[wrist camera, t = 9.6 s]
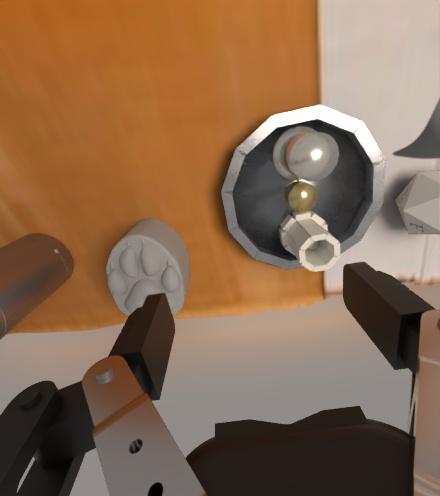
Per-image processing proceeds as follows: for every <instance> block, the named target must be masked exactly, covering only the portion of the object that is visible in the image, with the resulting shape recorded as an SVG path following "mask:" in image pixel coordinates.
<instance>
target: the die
mask: <svg viewBox="0 0 440 496" xmlns="http://www.w3.org/2000/svg"><path fill="white" fill-rule="evenodd" d="M395 202H396V204H397V207H398V209H399V211H400V214H401V216H402V219H403V221H404V224H405V226H406V229H407V231H408V233H409V234H440V170H438V171H425V172H418V173H417V174H416V175H415V177H414V178H413V179H412V180H411V181H410V183H409V184H408V185H407V186H406V187H405V189H404V190H403V191H402V192H401V193H400V195H399V196H398V197H397V198H396V199H395Z"/></svg>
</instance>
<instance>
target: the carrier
mask: <svg viewBox="0 0 440 496" xmlns="http://www.w3.org/2000/svg"><path fill="white" fill-rule="evenodd" d="M385 161H386V160H385V158H384V156H383V154H382V153H381V151H380V149H379V148H378V146H377V144H376V143H375V141H374V139H373V138H372V136H371V134H370V133H369V131H368V129H367V128H366V126H365V124H364V122H362V121H360V120H357V119H355V118H352V117H350V116H347V115H345V114H342V113H340V112H337V111H335V110H332V109H330V108H327V107H325V106H322V105H317V106H312V107H308V108H303V109H299V110H294V111H290V112H285V113H281V114H276V115H272V116H270V117H269V118H267V119H266V120H265V121H264V122H263V123H262V124H261V125H260V126H259V127H258V128H257V129H255V130H254V131H253V132H252V133H251V134H250V135H249V136H248V137H247V138H246V139H245V140H244V141H243V142H241V143H240V144H239V145H238V146H237V147H236V149H235V150H234V153H233V156H232V159H231V162H230V164H229V167H228V170H227V173H226V177H225V180H224V183H223V186H222V189H221V194H222V199H223V204H224V209H225V215H226V220H227V225H228V230H229V232H230V233H231V234H232V235H233V237H234V238H235V239H236V240H237V241H238V242H239V243H240V244H241V245H242V246H243V248H244V249H245V250H246V251H247V252H248V253H249V254H250V255H251V256H252V257H253V258H254V259H256V260H259V261H263V262H266V263H269V264H272V265H275V266H278V267H282V268H285V269H289V270H290V269H296V268H302V267H304V266H302V265H301V264H300V262H299V260H298V259H297V257H296V256H295V255H293V254H292V253H290V252H289V251H287V250H286V249H285V248H284V246H283V245H282V243H281V241H280V234H279V229H281V228H282V227H281V226H280V224H281V223H282V222H283V221H284V219H285V218H286V217H287V216H288V214H289V215H291V216H292V217H293V212H294V211H297V212H307V211H310V210H311V211H313V212H314V213H315V214H317V215H318V216H320V217H321V218H322V219H323V220H325V223H326V224H327V228H328V232H329V233H330V234H331V235H332V236H334V237H335V238H336V239H337V240H338V241H339V243H340V254H341V253H343V252H344V251H346V250H347V249H349V248H350V247H352V246H353V245H355V244H356V243H358V242H359V241H361V240H360V239H362V238H363V236H364V234H365V233H366V231H367V229H368V228H369V226H370V224H371V223H372V221H373V219H374V218H375V216H376V214H377V213H378V211H379V209H380V208H381V206H382V204H383V200H384V180H385ZM318 245H319V241H313V242H312V243H311V244H310V245H309V247H308V248H307V249H309V250H314V249H316V248H317V247H318Z"/></svg>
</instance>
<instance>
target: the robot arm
mask: <svg viewBox="0 0 440 496" xmlns="http://www.w3.org/2000/svg"><path fill="white" fill-rule="evenodd" d="M72 272H73V260H72V257H71V255H70V253H69V251H68V250H67V249H66V248H65V246H64V245H63V244H61V243H60V242H59V241H57V240H56V239H54V238H52V237H50V236H47V235H43V234H31V235H27V236H25V237H23V238H21V239H19V240H17V241H15V242H13V243H10V244H8V245H6V246H4V247H2V248H0V339H1V338H2V337H4V336H5V335H6V334H7V333H8V332H9V331H10V330H12V329H13V328H14V327H15V326H16V325H17V324H18V323H19V322H21V321H22V320H23V319H24V318H25V317H26V316H27V315H28V314H29V313H31V312H32V311H33V310H34V309H35V308H36V307H37V306H38V305H39V304H41V303H42V302H43V301H44V300H45V299H46V298H47V297H48V296H50V295H51V294H52V293H53V292H54V291H55V290H56V289H57V288H59V287H60V286H61V285H62V284H63V283H64V282H65V281H66V280H68V278H69V277H70V276H71V274H72ZM343 298H344V303H345V305H346V307H347V309H348V310H349V311H350V313H351V314H352V316H353V317H354V318H355V319H356V321H357V322H358V323H359V325H361V327H362V328H363V330H364V331H365V332H366V333H367V335H368V336H369V337H370V339H371V340H372V341H373V342H374V343H375V345H376V346H377V348H378V349H379V350H380V351H381V353H382V354H383V355H384V357H385V358H386V359H387V360H388V362H389V363H390V364H391V366H392V367H393V368H394V369H395V370H398V369H405V368H409V369H410V370H411V371H412V380H411V391H410V403H409V415H408V426H407V433H406V432H405V431H403V430H401V429H398V428H396V427H394V426H391V425H389V424H385V423H382V422H379V421H375V420H371V419H366V417H365V415H364V413H363V411H362V410H361V408H360V406H354V407H346V408H339V409H331V410H323V411H320V412H318V413H316V414H313V415H311V416H309V417H306V418H304V419H302V420H299V421H297V422H295V423H292V424H278V423H271V422H264V421H257V420H250V419H249V420H241V421H233V422H226V423H217V424H215V437H213V438H211V439H209V440H207V441H205V442H204V443H202V444H201V445H199V446H198V447H197V448H195V449H194V450H193V451H192V452H191V453H190V454H189V455H188V456H187V457H186V458H185V457H184V455H183V454H182V452H181V450H180V449H179V447H178V445H177V444H176V442H175V440H174V439H173V437H172V435H171V433H170V432H169V430H168V428H167V426H166V425H165V423H164V422H163V420H162V418H161V416H160V415H159V413H158V411H157V410H156V408H155V406H154V404H153V403H152V400H159V399H160V396H161V391H162V387H163V382H164V378H165V373H166V369H167V365H168V360H169V356H170V351H171V347H172V343H173V338H174V334H175V324H174V319H173V316H172V312H171V309H170V306H169V302H168V299H167V296H166V294H165V293H158V294H151V295H148V296H147V297H146V299H145V301H144V303H143V306H142V307H138V308H136V309H135V310H134V311H133V312H132V313H131V314H130V315H129V317H128V319H127V321H126V323H125V326H124V327H123V329H122V330H121V333H120V334H119V336H118V338H117V340H116V342H115V344H114V346H113V348H112V350H111V352H110V354H109V356H108V357H106V358H104V359H102V360H100V361H98V362H96V363H95V364H94V365H93V366H92V367H90V369H88V371H87V372H86V373H85V375H84V377H83V379H82V381H80V382H77V383H75V384H72V385H70V386H67V387H65V388H62V389H60V390H58V389H57V387H56V385H55V384H54V383H53V382H52V381H42V382H39V383H36V384H34V385H32V386H30V387H28V388H26V389H25V390H23V391H22V392H21V393H19V394H18V395H17V396H16V397H15V398H14V399H13V400H12V401H11V402H10V403H9V404H8V406H7V407H6V408H5V410H4V411H3V413H2V414H1V415H0V496H69V495H70V492H71V490H72V487H73V484H74V482H75V479H76V477H77V474H78V471H79V469H80V466H81V463H82V461H83V458H84V455H85V453H86V452H88V451H90V450H92V449H94V448H97V452H98V456H99V459H100V463H101V466H102V470H103V473H104V477H105V481H106V484H107V488H108V491H109V495H110V496H440V310H436V309H435V308H433V307H432V306H431V305H430V304H428V303H427V302H426V301H424V300H423V299H422V298H420V297H419V296H418V295H416V294H415V293H414V292H413V291H410V290H409V288H407V287H406V286H405V285H402V284H401V282H399V281H398V280H397V279H395V278H394V277H393V276H391V275H388V274H386V273H383V272H381V271H375V270H374V269H373V268H372V267H370V266H369V265H368V264H367V263H365V262H359V263H352V264H346V265H345V266H344V269H343ZM32 457H34V458H35V461H34V463H33V465H32V466H31V468H30V470H29V472H28V474H27V476H26V478H25V480H24V481H23V483H22V485H21V487H20V489H19V491H18V493H17V488H18V485H19V482H20V480H21V478H22V476H23V474H24V472H25V470H26V468H27V467H28V465H29V463H30V461H31V459H32ZM16 494H17V495H16Z"/></svg>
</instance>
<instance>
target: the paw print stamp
mask: <svg viewBox="0 0 440 496" xmlns="http://www.w3.org/2000/svg"><path fill="white" fill-rule="evenodd" d="M106 274H107V280H108V288H109V290H110V291H111V294H112V296H113V299H114V301H115V303H116V305H117V307H118V309H119V310H120V311H121V312H122V313H124V314H125V315H127V316H129V315H130V314H131V313H132V312H133V311H134V310H135V309H136V308H138V307H142V306H143V303H144V301H145V299H146V297H147V296H148V295H151V294H158V293H165V294H166V296H167V299H168V302H169V306H170V309H171V312H172V316H173V315H175V314H177V313H178V312H179V311H180V309H181V308H182V306H183V304H184V300H185V296H186V292H187V288H188V283H189V279H190V262H189V255H188V251H187V247H186V244H185V243H184V241H183V240H182V238H181V237H180V236H179V234H178V233H177V232H176V231H175V230H174V229H173V228H172V227H171V226H169V225H168V224H166V223H164V222H162V221H160V220H158V219H152V218H150V219H144V220H142V221H140V222H139V223H137V224H136V225H135V226H134V227H133V228H132V229H131V230H130V231H129V232H128V233H127V234H126V235H125V236H124V237H123V238H122V239H121V240H120V241H119V242H118V243H117V244H116V245H115V246H114V248H113V249H112V251H111V253H110V256H109V259H108V262H107V266H106Z"/></svg>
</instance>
